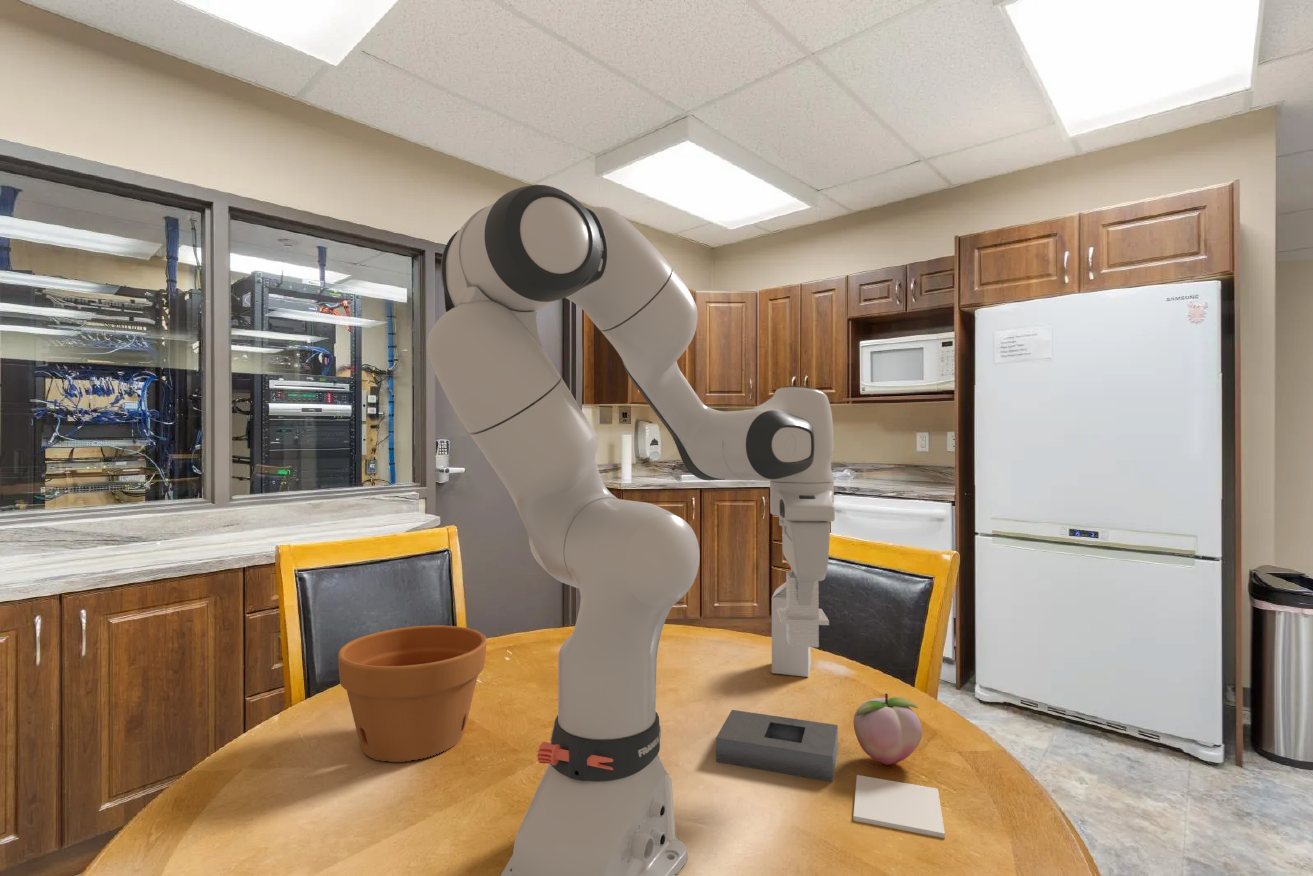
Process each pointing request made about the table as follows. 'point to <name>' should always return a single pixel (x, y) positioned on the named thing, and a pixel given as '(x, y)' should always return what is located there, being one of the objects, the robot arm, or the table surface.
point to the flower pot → (411, 688)
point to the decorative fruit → (887, 729)
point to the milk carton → (786, 643)
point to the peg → (801, 616)
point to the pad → (898, 806)
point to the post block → (778, 745)
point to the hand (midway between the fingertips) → (801, 599)
